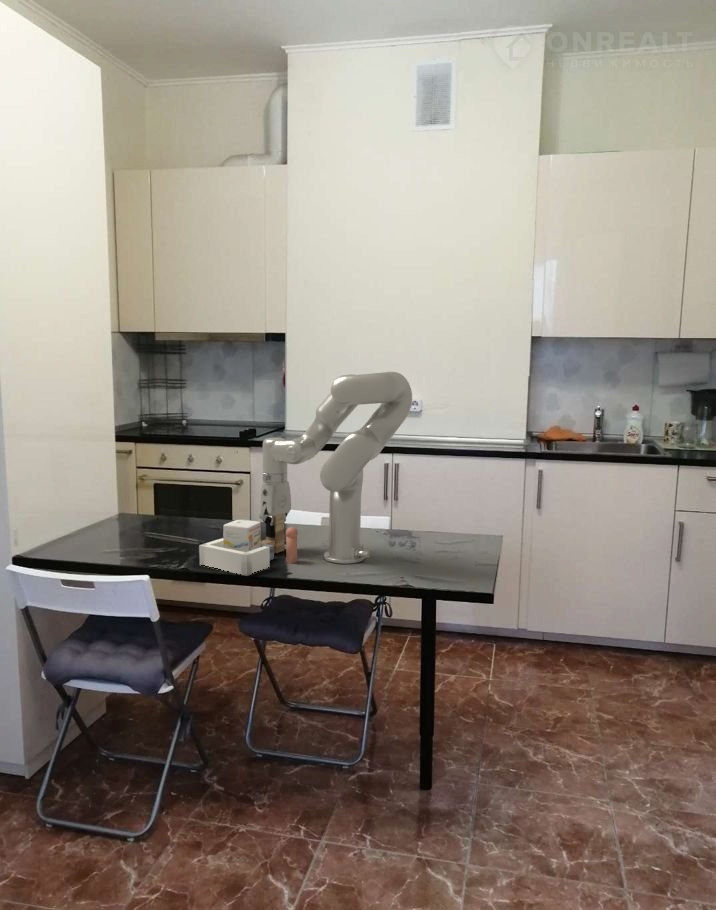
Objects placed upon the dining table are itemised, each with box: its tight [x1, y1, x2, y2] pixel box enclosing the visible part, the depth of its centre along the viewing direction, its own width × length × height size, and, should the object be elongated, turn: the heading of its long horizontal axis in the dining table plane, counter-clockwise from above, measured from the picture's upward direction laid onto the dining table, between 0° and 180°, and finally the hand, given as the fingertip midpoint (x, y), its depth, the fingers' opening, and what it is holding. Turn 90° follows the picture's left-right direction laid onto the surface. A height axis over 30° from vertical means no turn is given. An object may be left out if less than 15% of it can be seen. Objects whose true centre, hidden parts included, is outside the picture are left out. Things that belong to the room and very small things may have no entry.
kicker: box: [261, 514, 285, 561], centre depth 223 cm, size 10×11×14 cm
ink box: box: [222, 519, 262, 552], centre depth 215 cm, size 9×8×12 cm
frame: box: [198, 537, 271, 577], centre depth 210 cm, size 18×10×6 cm, turn 58°
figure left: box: [285, 526, 299, 564], centre depth 215 cm, size 4×4×11 cm
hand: (275, 535), depth 226 cm, fingers closed on kicker, 4 cm apart
